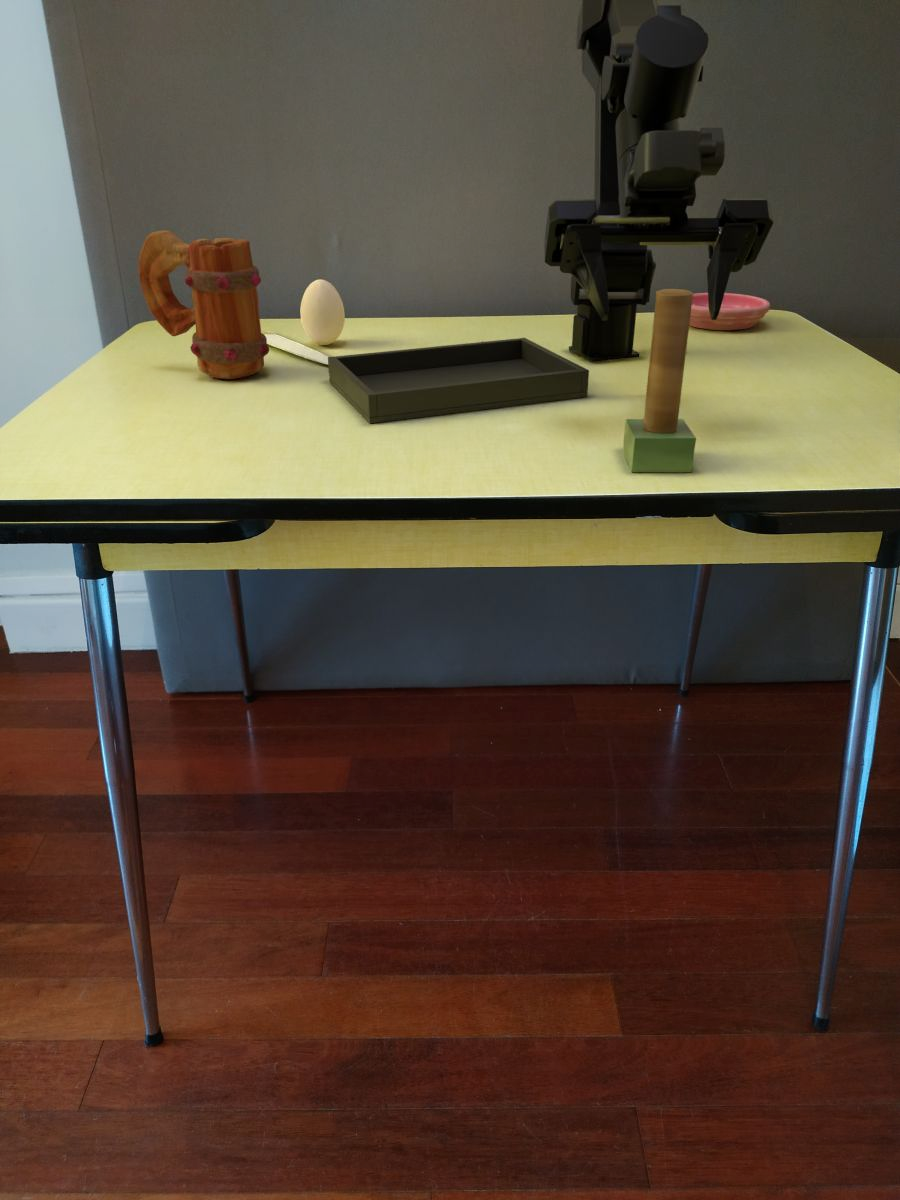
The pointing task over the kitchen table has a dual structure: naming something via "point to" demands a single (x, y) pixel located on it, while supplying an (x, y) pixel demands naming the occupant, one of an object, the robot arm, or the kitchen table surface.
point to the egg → (322, 312)
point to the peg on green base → (664, 393)
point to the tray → (454, 379)
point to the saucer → (728, 312)
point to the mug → (208, 300)
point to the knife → (294, 347)
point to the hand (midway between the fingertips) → (660, 317)
